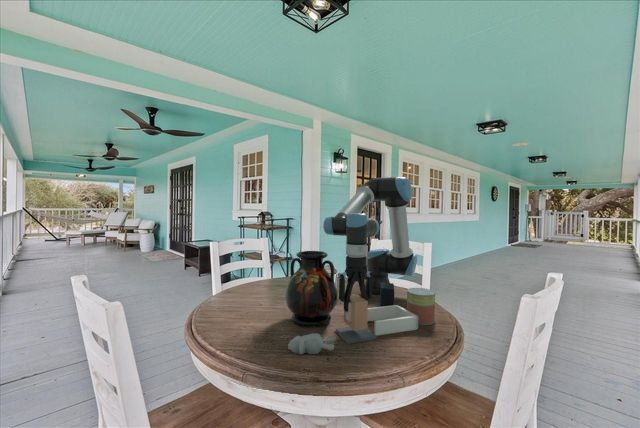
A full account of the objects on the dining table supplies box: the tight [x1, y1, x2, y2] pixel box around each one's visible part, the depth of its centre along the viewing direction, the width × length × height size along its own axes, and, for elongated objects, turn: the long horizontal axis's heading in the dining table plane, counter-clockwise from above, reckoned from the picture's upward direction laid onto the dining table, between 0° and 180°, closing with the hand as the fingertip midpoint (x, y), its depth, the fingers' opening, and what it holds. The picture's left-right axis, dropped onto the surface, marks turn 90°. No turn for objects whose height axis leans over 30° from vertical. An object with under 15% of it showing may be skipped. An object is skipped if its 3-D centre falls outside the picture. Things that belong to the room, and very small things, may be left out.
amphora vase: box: [284, 250, 339, 328], centre depth 125 cm, size 22×22×28 cm
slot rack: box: [367, 304, 419, 337], centre depth 121 cm, size 19×14×5 cm
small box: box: [379, 282, 395, 307], centre depth 142 cm, size 11×6×10 cm, turn 168°
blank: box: [343, 293, 369, 331], centre depth 111 cm, size 5×9×10 cm, turn 19°
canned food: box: [406, 287, 436, 326], centre depth 127 cm, size 11×11×12 cm
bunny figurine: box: [287, 332, 337, 355], centre depth 99 cm, size 10×5×15 cm
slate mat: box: [335, 326, 377, 344], centre depth 111 cm, size 11×11×1 cm
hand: (355, 318), depth 111 cm, fingers closed on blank, 5 cm apart
